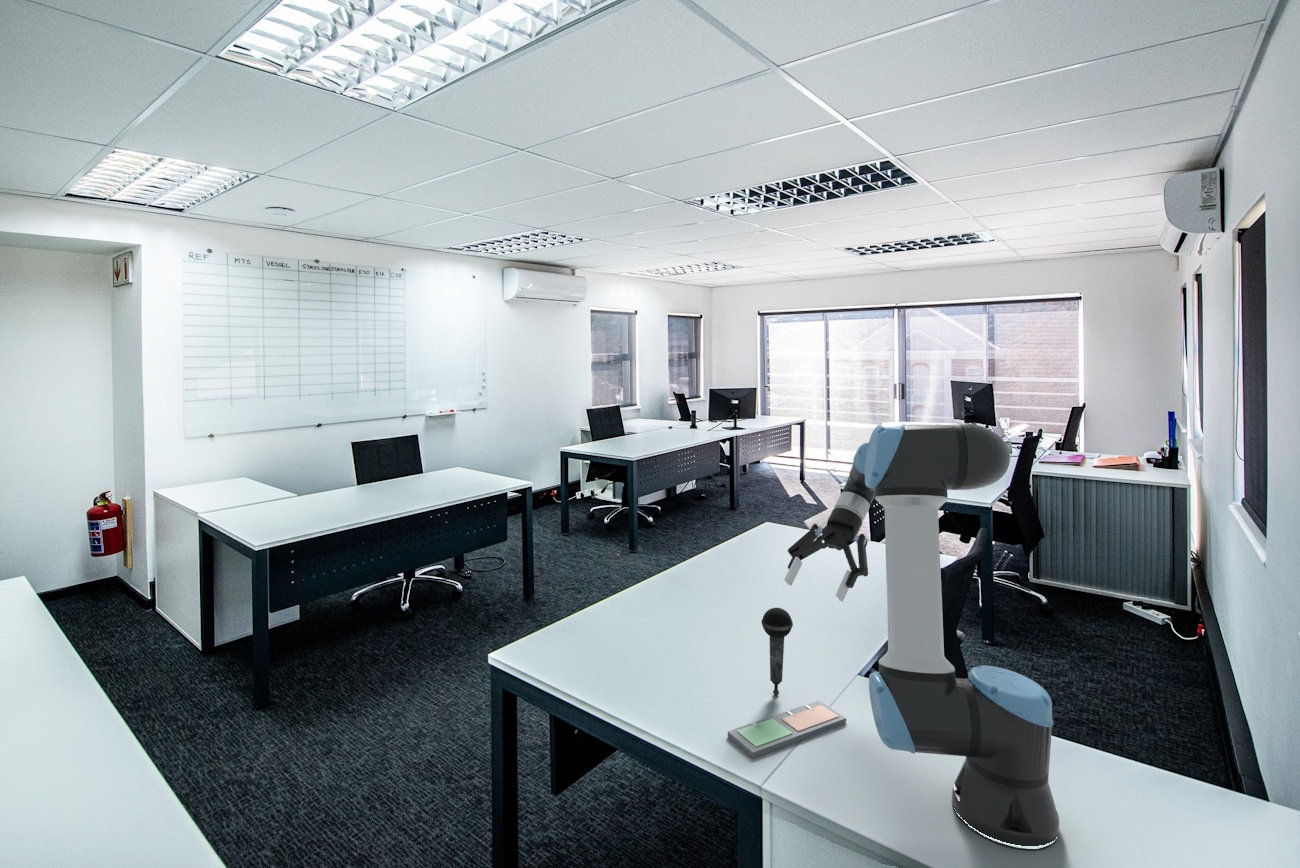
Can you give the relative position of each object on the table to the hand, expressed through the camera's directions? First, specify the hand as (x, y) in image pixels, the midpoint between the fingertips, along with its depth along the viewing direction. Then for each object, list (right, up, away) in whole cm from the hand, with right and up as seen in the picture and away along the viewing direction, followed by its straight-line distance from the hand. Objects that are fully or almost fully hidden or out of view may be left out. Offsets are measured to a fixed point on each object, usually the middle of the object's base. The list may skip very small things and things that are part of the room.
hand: (812, 590), depth 145 cm
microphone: (-9, -23, -4) cm, 25 cm away
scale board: (-10, -24, -18) cm, 31 cm away
